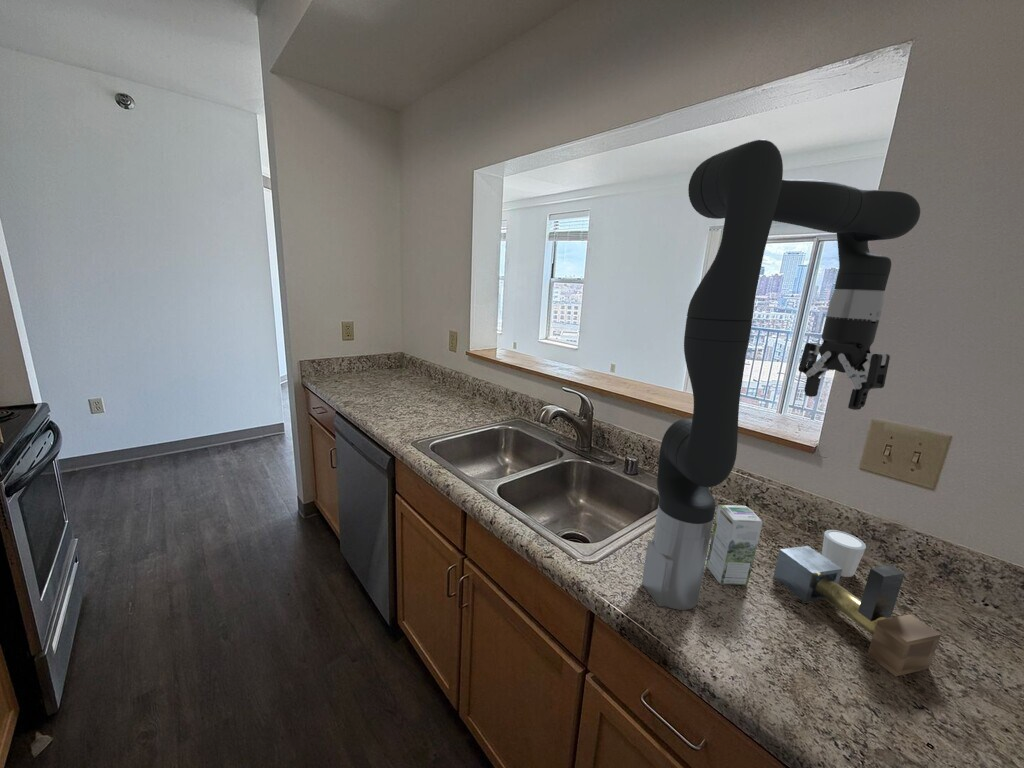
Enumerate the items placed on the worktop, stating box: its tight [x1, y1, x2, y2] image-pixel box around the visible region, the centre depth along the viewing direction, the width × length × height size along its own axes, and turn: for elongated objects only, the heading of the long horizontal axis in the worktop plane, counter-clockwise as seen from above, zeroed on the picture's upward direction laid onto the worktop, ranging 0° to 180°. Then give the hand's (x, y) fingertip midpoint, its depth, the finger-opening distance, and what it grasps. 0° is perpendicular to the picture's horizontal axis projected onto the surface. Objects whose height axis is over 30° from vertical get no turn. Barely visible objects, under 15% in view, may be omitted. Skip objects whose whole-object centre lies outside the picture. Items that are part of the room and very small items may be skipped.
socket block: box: [866, 614, 942, 677], centre depth 64 cm, size 4×7×6 cm, turn 104°
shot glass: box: [821, 529, 867, 578], centre depth 86 cm, size 7×7×7 cm
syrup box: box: [705, 504, 764, 586], centre depth 80 cm, size 6×6×14 cm
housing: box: [773, 545, 842, 604], centre depth 79 cm, size 7×7×6 cm
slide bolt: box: [816, 564, 906, 636], centre depth 69 cm, size 13×4×12 cm, turn 14°
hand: (831, 402), depth 77 cm, fingers open, 8 cm apart
